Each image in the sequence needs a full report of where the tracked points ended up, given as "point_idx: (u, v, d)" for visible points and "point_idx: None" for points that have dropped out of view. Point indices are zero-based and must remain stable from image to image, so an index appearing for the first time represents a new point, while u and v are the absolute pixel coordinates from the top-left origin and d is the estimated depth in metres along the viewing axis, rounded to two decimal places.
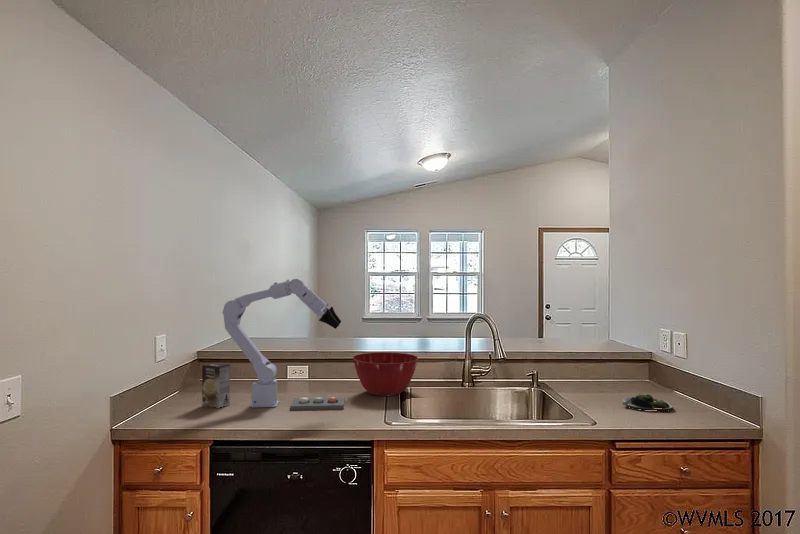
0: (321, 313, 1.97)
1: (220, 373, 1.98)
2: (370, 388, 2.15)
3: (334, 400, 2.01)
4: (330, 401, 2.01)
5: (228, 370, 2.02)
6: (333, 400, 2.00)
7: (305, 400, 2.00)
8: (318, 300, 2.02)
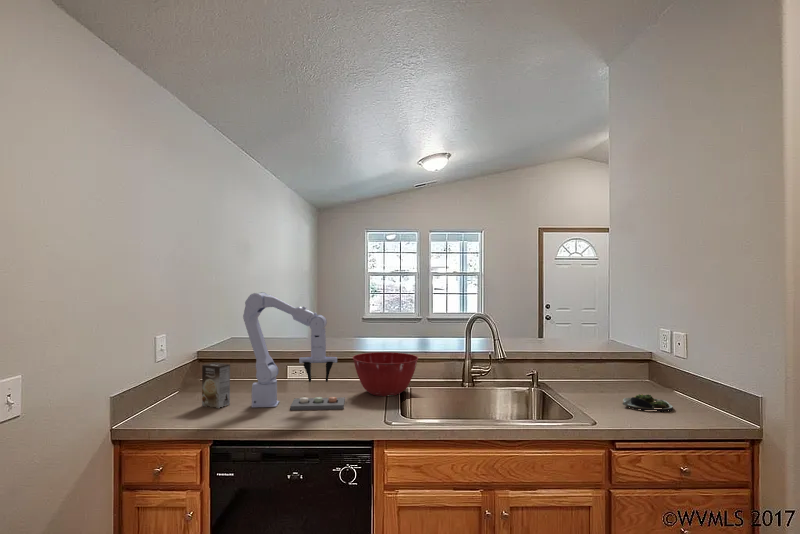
0: None
1: (220, 373, 1.98)
2: (370, 388, 2.15)
3: (334, 400, 2.01)
4: (330, 401, 2.01)
5: (228, 370, 2.02)
6: (333, 400, 2.00)
7: (305, 400, 2.00)
8: (313, 350, 2.00)
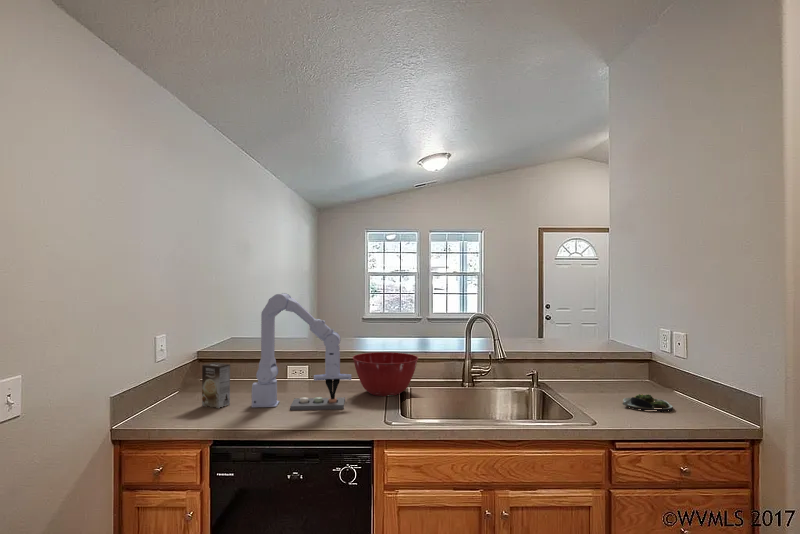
0: None
1: (220, 373, 1.98)
2: (370, 388, 2.15)
3: (334, 401, 2.01)
4: (330, 402, 2.01)
5: (228, 370, 2.02)
6: (333, 401, 2.00)
7: (305, 400, 2.00)
8: (327, 367, 2.00)
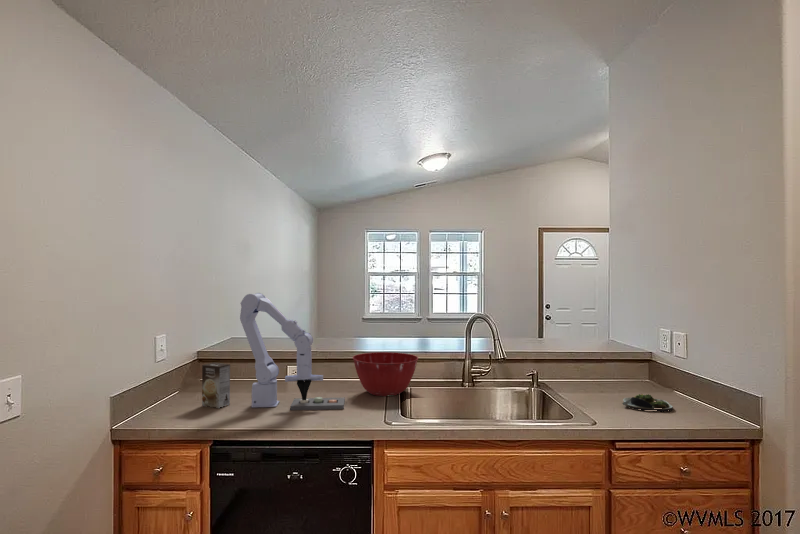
0: None
1: (220, 373, 1.98)
2: (370, 388, 2.15)
3: None
4: None
5: (228, 370, 2.02)
6: None
7: (305, 401, 2.00)
8: (298, 368, 1.99)
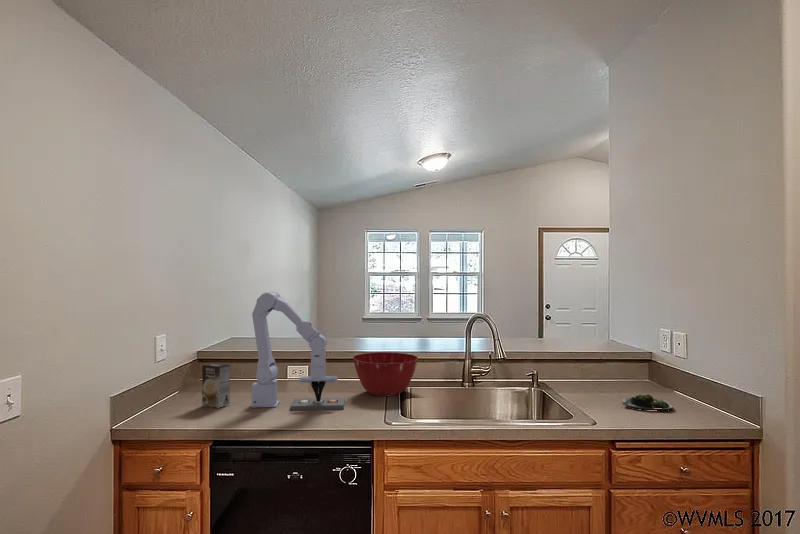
0: None
1: (220, 373, 1.98)
2: (370, 388, 2.15)
3: None
4: None
5: (228, 370, 2.02)
6: None
7: None
8: (313, 369, 1.99)
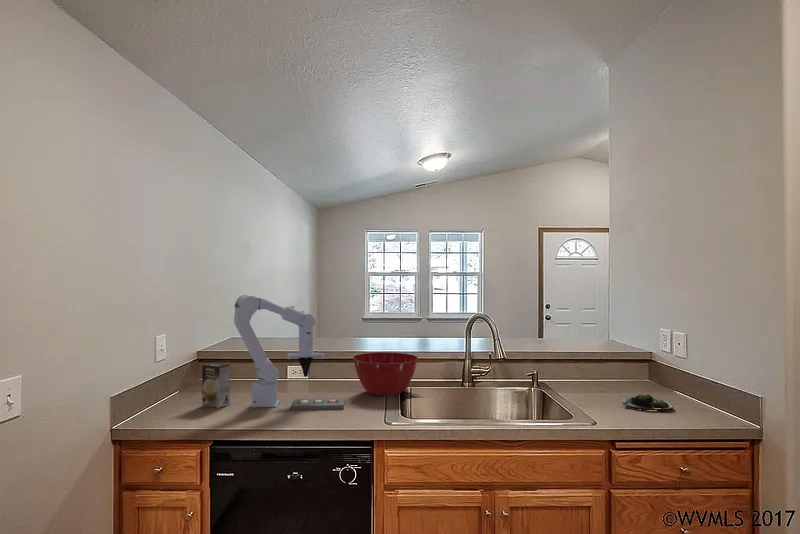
0: None
1: (220, 373, 1.98)
2: (370, 388, 2.15)
3: None
4: None
5: (228, 370, 2.02)
6: None
7: None
8: (300, 346, 2.10)
